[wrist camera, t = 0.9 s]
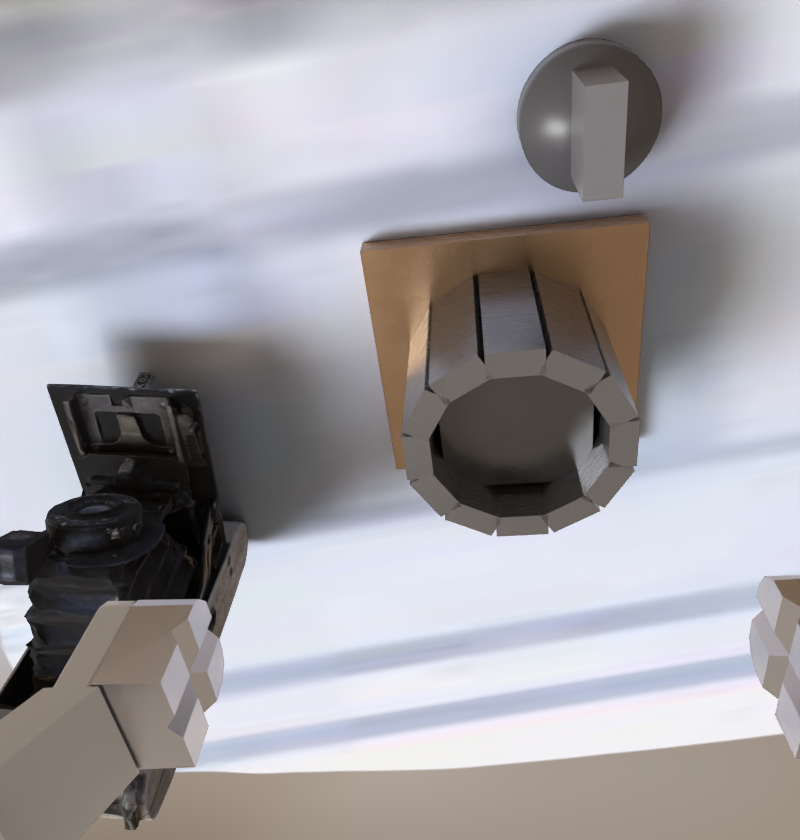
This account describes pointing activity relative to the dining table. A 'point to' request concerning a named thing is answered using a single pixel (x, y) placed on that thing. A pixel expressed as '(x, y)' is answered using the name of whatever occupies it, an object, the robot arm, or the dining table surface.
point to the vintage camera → (123, 538)
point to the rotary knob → (589, 117)
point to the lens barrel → (512, 367)
